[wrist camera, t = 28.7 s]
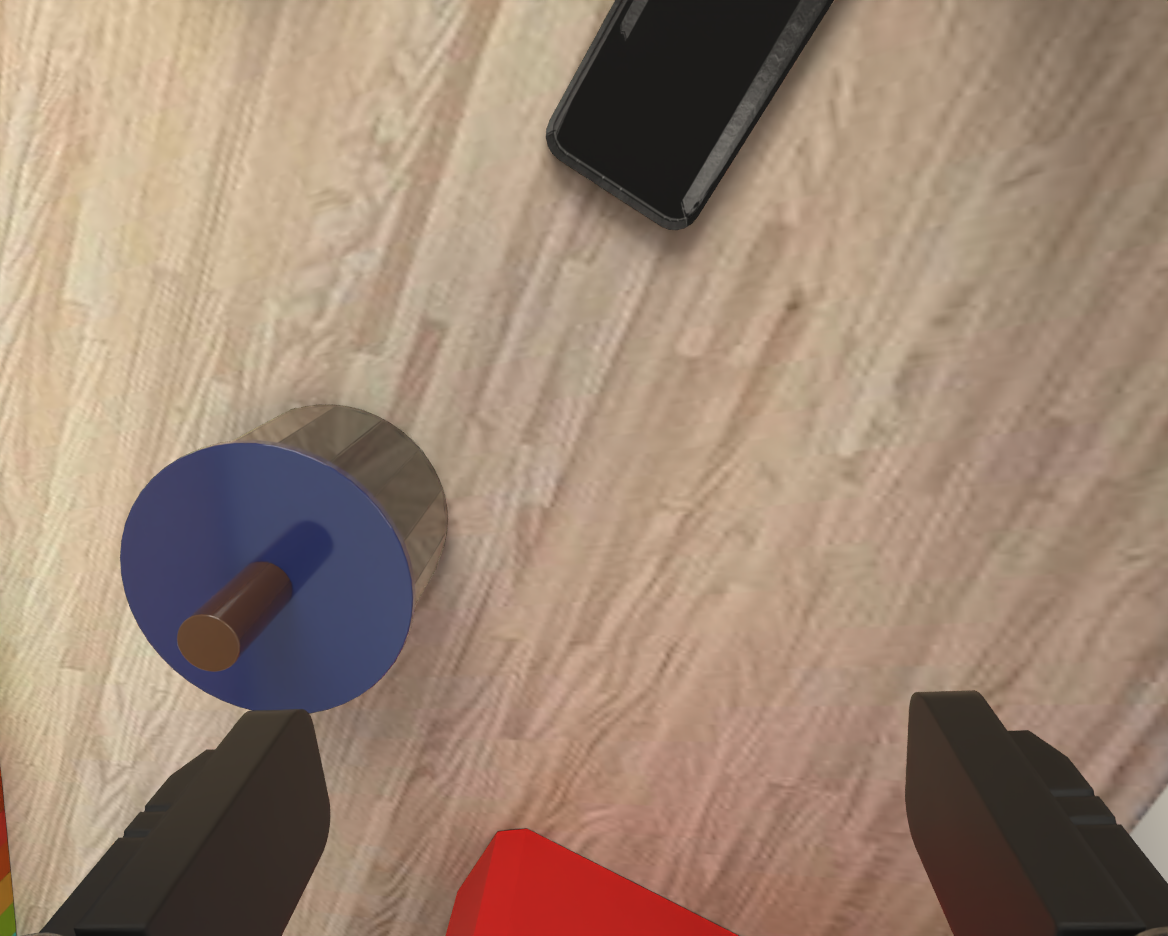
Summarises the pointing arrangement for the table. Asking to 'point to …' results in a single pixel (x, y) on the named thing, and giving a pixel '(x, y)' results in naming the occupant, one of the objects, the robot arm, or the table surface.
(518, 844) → the book
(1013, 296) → the table surface
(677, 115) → the phone
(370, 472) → the canister
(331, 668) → the lid
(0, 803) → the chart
